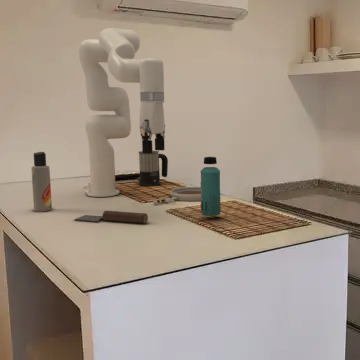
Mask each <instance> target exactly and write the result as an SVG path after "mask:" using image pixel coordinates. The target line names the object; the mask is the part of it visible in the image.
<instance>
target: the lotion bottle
mask: <svg viewBox="0 0 360 360" xmlns="http://www.w3.org/2000/svg"><path fill="white" fill-rule="evenodd" d="M46 155H47V154H46V153H45V151H37V152H33V166H31V182H32V184H31V185H32V200H33V211H34V212H37V213H39V212H40V213H42V212H43V213H44V212H49V211H52V209H53V205H52V202H53V201H52V187H51V169H50V166H49V165H47V156H46Z"/></svg>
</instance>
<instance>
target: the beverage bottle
mask: <svg viewBox="0 0 360 360" xmlns="http://www.w3.org/2000/svg"><path fill="white" fill-rule="evenodd" d="M217 163H218V162H217V157H216V156H205V157H204V158H203V165H217ZM199 187H201V200H200V213H201V215H202V216H204V217H216V216H220V215H221V209H222V206H221V203H222V202H221V201H222V199H221V170H220V169H219V168H218V167H216V166H205V167H203V168H201V170H200V186H199Z"/></svg>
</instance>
